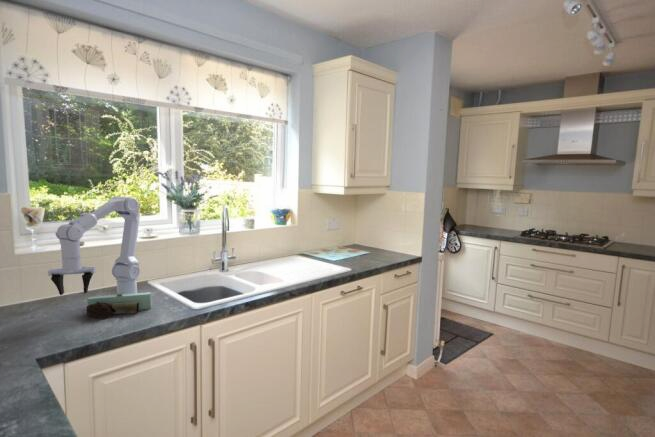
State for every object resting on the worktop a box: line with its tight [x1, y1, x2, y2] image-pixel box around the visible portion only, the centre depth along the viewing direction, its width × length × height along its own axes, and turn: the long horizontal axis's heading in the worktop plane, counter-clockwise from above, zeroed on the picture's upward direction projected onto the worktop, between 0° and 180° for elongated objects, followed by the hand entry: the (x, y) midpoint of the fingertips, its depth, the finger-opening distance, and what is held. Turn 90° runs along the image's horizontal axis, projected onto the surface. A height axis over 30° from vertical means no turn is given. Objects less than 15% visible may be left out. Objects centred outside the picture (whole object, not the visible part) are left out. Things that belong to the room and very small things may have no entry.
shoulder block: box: [86, 291, 153, 310], centre depth 148 cm, size 3×22×7 cm, turn 108°
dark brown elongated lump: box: [85, 302, 139, 320], centre depth 143 cm, size 18×7×6 cm, turn 106°
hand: (73, 293), depth 138 cm, fingers open, 7 cm apart
